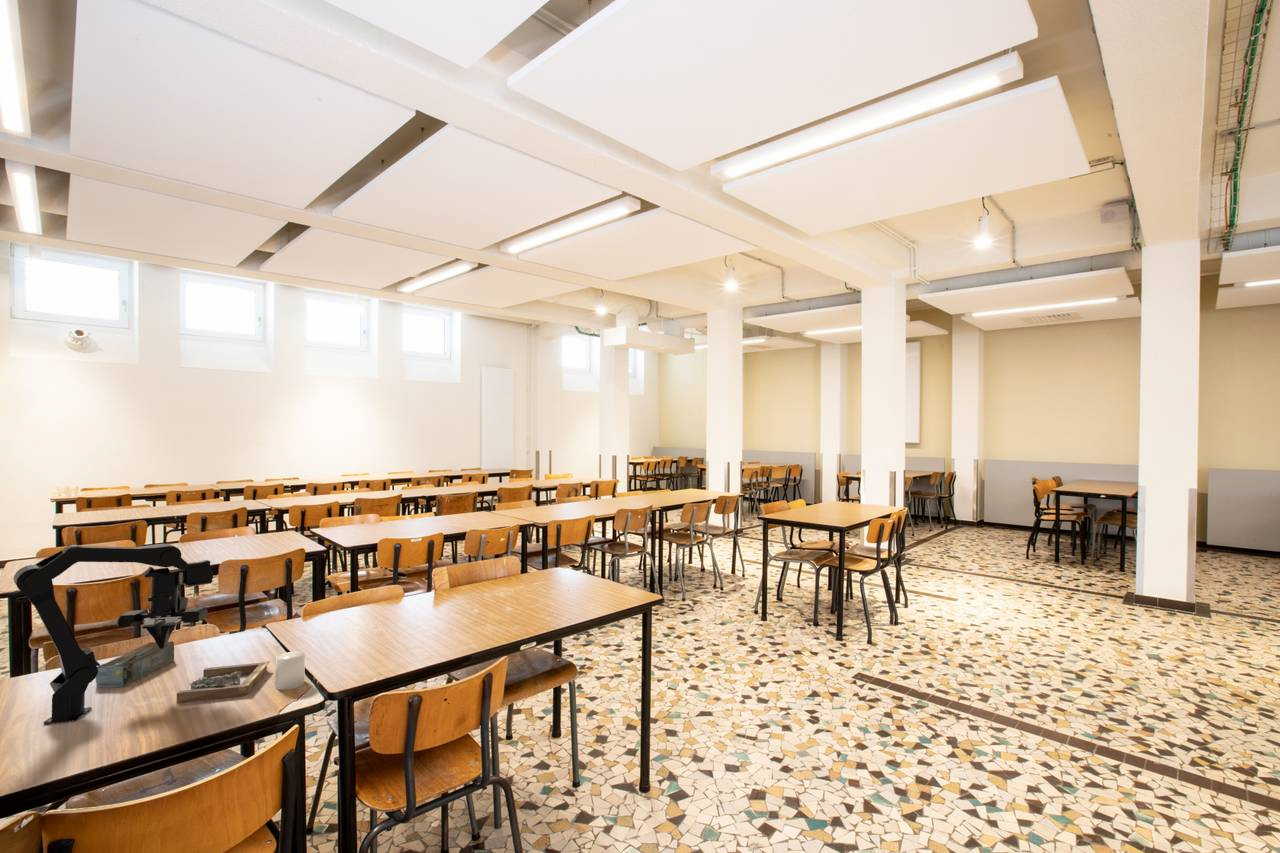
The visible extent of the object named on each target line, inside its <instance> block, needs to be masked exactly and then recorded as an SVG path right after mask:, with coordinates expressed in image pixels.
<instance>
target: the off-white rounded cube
mask: <svg viewBox="0 0 1280 853" xmlns="http://www.w3.org/2000/svg"><path fill="white" fill-rule="evenodd" d="M305 660H306V654H305V652H304V651H299V650H296V651H290V652H284V653H282V654H279V655H277V656H276V657H275V674H274V676H275V678H274V679H275V682H274V685H275V686H274V688H275V690H278V691H287V690H288V691H289V690H294V689H297V688H299V687H301V686H303V685H304V684H305V668H306V667H305V665H306V664H305V662H306V661H305Z"/></svg>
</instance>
